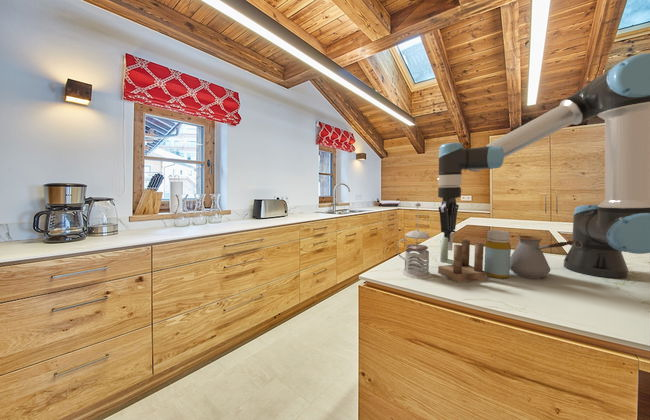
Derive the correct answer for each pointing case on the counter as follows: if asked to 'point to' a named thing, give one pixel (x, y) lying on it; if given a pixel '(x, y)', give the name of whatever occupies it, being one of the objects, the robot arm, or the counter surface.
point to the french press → (416, 255)
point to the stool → (465, 264)
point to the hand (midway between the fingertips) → (447, 249)
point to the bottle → (497, 254)
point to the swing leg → (445, 251)
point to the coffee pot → (532, 257)
